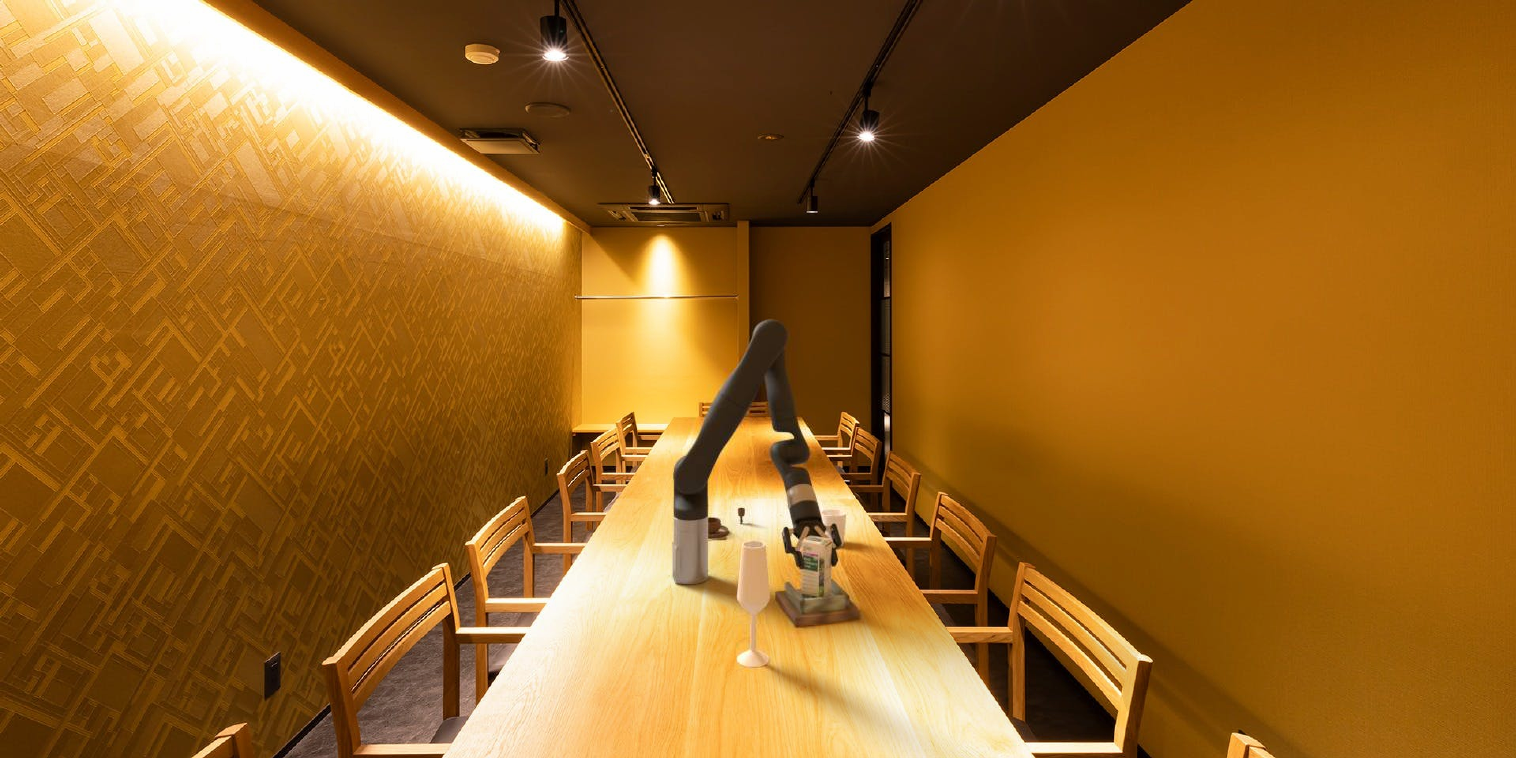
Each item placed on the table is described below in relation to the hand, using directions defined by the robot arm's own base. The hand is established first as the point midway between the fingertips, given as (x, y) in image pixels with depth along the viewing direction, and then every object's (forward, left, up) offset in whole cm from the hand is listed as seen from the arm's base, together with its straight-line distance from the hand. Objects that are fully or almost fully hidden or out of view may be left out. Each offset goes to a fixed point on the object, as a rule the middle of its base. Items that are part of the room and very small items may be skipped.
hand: (818, 566), depth 161 cm
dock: (0, +1, -11) cm, 11 cm away
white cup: (+22, +46, -11) cm, 52 cm away
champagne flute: (-21, -19, -11) cm, 30 cm away
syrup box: (0, +1, -8) cm, 8 cm away
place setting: (-9, +67, -12) cm, 69 cm away
